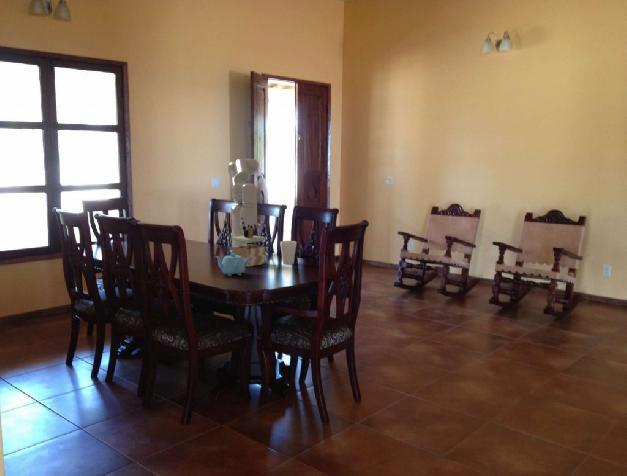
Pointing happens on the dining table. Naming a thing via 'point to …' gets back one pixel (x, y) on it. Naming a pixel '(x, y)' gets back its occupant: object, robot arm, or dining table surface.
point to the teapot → (233, 264)
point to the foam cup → (288, 251)
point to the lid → (249, 237)
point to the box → (251, 253)
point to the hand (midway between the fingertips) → (248, 236)
